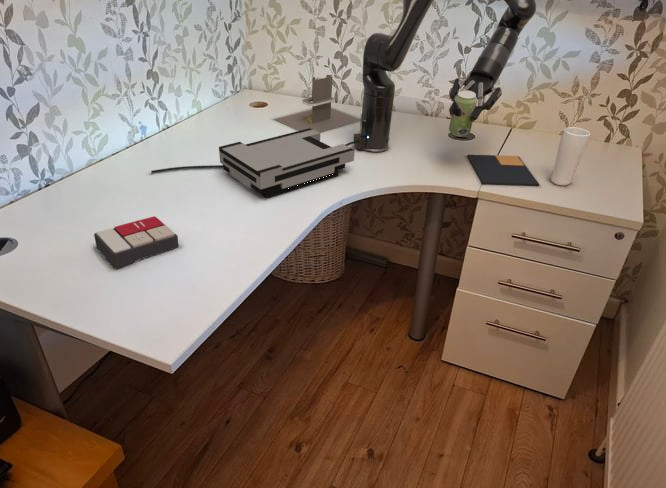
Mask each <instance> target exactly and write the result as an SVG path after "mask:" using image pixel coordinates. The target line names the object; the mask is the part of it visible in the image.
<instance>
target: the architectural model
mask: <svg viewBox="0 0 666 488" xmlns="http://www.w3.org/2000/svg"><path fill="white" fill-rule="evenodd" d="M311 82H312V84H311V96H310V97H307V98H303V99H302V100H301V104H303V105H306V106H308V107H311V109H308V110H305V111H301V112H296V113H292V114H289V115H285V116H281V117H277V118H274V119H273V120H275V121H277V122H279V123H280V124H284V125H286V126H288V127H290V128H292V129H294V130H296V131H300V130H304V129H308V128H311V129H313V130H315V131H317V132H319V133H320V134H321V133H323V132H326V131H330V130H333V129H337V128H340V127H344V126H348V125H350V124H351V125H352V124H354V123H357V122H361V118H358V117H355V116H353V115H350V114H348V113H345V112H342V111H340V110H337V109H335V108H332V103H333V102H335V98H334V97H333V95H332V94H333V75H329V74H326V75H325V77H323V78H318V79H316V77H315V76H312V81H311Z"/></svg>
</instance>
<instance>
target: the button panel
mask: <svg viewBox="0 0 666 488" xmlns="http://www.w3.org/2000/svg"><path fill="white" fill-rule="evenodd" d="M93 236H94V242H95V248H96V249H97V250H98V251H99V252H100V253H101V254H102V256H103V257H104V258H105V259H106V260H107V261H108V262H109V263H110V265H111V266H112V267H113V268H114V269H121V268H123V267H124V268H125V267H127V266H130V265H133V264H134V263H135V262H136V261H139V260H142V259H145V258H148V257H151V256H155V255H158V254H160V253H164V252H168V251H171V250H175V249H177V248H179V237H178V234H176V233H175V232H174V231H173V230H172V229H170V227H168V225H166V224H165V223H164V222H163V221H162V220H160V219H159V218H158V217H157V216H155V215H154V216H149V217H146V218H142V219H138V220H135V221H130V222H127V223H124V224H120V225H116V226H114V227H113V228H107V229H104V230H103V229H102V230H100V231H97V232H95V233H94V235H93Z"/></svg>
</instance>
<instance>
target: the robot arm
mask: <svg viewBox="0 0 666 488" xmlns="http://www.w3.org/2000/svg"><path fill="white" fill-rule="evenodd" d="M434 1H435V0H402V16H401V19H400V21H399V23H398V26H397V28H396V29H395V32H394V33H393V34H392V35H390V34H386V33H381V32H374V33H373V34H371V35H370V36H369V37H368V38H367V39H366V42H365V45H364V49H363V56H362V84H363V98H362V109H361V114H360V120H361V121H359V122H360V123H359V132H358V133H354V134H353V141H350V142H348V143H345V144H344V145H346V146H348V147H349V146H351V145H353V144H354V146H356V147H357V148H358V149H359V151H365V152H368V153H369V152H370V153H381V152H386V151H387V150H388V149H389V142H390V139H391V136H390V133H391V126H392V118H393V117H392V116H393V110H394V109H393V108H394V100H395V91H396V83H395V82H394V81H393V80H392V79H391V78H390V77H389V75H388V73H387V72H389V73H391V72H395V71H396V70H398V69H399V68H400V67H401V66H402V64H403V63H404V61H405V59H406V57H407V55H408V53H409V50H410V48H411V46H412V44H413V42H414V39H415V37H416V34H417V32H418V30H419V28H420V26H421V25H422V23H423V20H424V19H425V17H426V15H427V13H428V11H429V10H430V8H431V7H432V5H433V3H434ZM495 1H496V2H502V1H504V2H505V4H506V5H507V8H506V9H505V11H504V12H503V14H502V16H501V17H500V19H499V22H498V24H497V26H496V29H495V30H494V32H493V34H492V35H491V37H490V39H489V41H488V43H486V46H485V47H484V49H483V50H482V51H481V53H480V55H479V56H478V58H477V59H476V62H475V63H474V66H473V67H472V69H471V71H470V73H469V76H468V77H467V78H466V79H460V78H459V77H456V78H455V79H454V82H453V84H452V87H451V90H450V93H449V98H450V101H451V102H452V103H451V105H450V107H449V108H448V112H449V115H450V117H451V116H452V111H453V105H454V99H455V96H456V95H457V94H458V92H459V91H462V90H469V91H473V92H474V93H475V94H476V97H477V105H476V107H475V109H474V111H473V113H472V114H471V116H470V120H471V121H472V123H474V122H475V121H477V120H478V119H479V117H480V115H481V114H482V112H483V111H485V110H486V111H490V110H491V109H492V108H493V106H494V105H495V104H496V103H497V101H499V99H500V98H501V96H502V95H503V92H502V88H501V87H500V86H498V87H496V86H495V85H496V83H497V81H498V80H499V78H500V76H501V74H502V73H503V71H504V69H505V67H506V65H507V64H508V61H509V59H510V56H511V55H512V53H513V51H514V49H515V47H516V45H517V43H518V40H519V37H520V34H521V33H522V31H523V29H524V28H525V26H526V25H528V23H529V22H530V20H531V19H532V18H534V15H535V14H536V12H537V11H536V10H537V2H536V0H495ZM463 86H464V87H463ZM489 94H491V95H490V96H489V97H488V99H487V100H486V96H488V95H489ZM485 100H486V101H485ZM190 169H193V170H194V169H223V164H221V165H219V164H218V165H215V164H213V165H212V164H211V165H188V166H175V167H174V166H173V167H166V168H159V169H154V170H150V172H151V174H155V173H162V172H169V171H177V170H190Z"/></svg>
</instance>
